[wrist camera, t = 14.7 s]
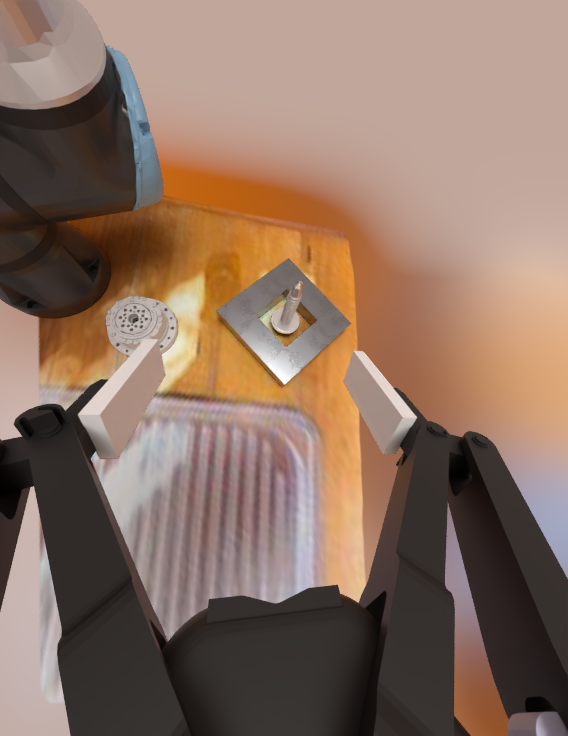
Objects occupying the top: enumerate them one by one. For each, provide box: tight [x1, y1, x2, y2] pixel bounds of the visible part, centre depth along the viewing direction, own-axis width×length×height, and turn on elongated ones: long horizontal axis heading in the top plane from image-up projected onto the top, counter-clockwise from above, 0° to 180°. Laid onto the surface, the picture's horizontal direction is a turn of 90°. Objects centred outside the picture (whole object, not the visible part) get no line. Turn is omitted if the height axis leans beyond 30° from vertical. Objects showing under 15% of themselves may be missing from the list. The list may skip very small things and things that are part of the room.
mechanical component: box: [105, 296, 178, 357], centre depth 35 cm, size 10×4×10 cm
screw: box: [271, 280, 303, 334], centre depth 35 cm, size 13×5×5 cm
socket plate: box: [217, 258, 351, 387], centre depth 39 cm, size 16×16×3 cm
